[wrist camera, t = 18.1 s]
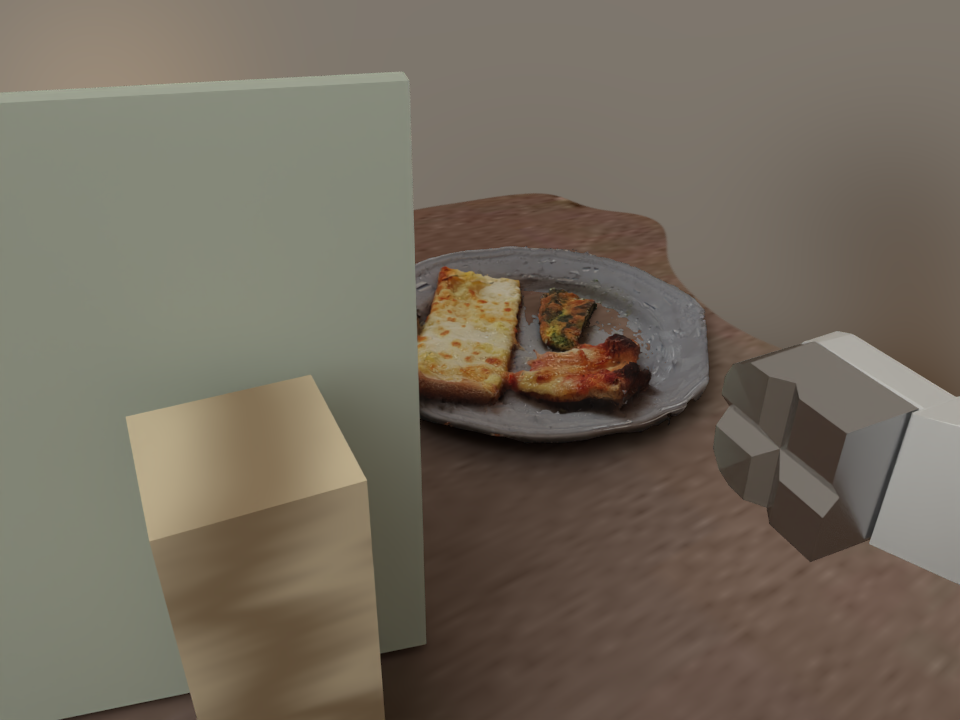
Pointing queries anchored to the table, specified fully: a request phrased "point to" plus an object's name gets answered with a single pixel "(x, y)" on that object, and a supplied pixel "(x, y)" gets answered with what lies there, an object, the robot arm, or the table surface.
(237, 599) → the doorstop block
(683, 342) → the food plate
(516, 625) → the table surface
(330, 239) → the door
